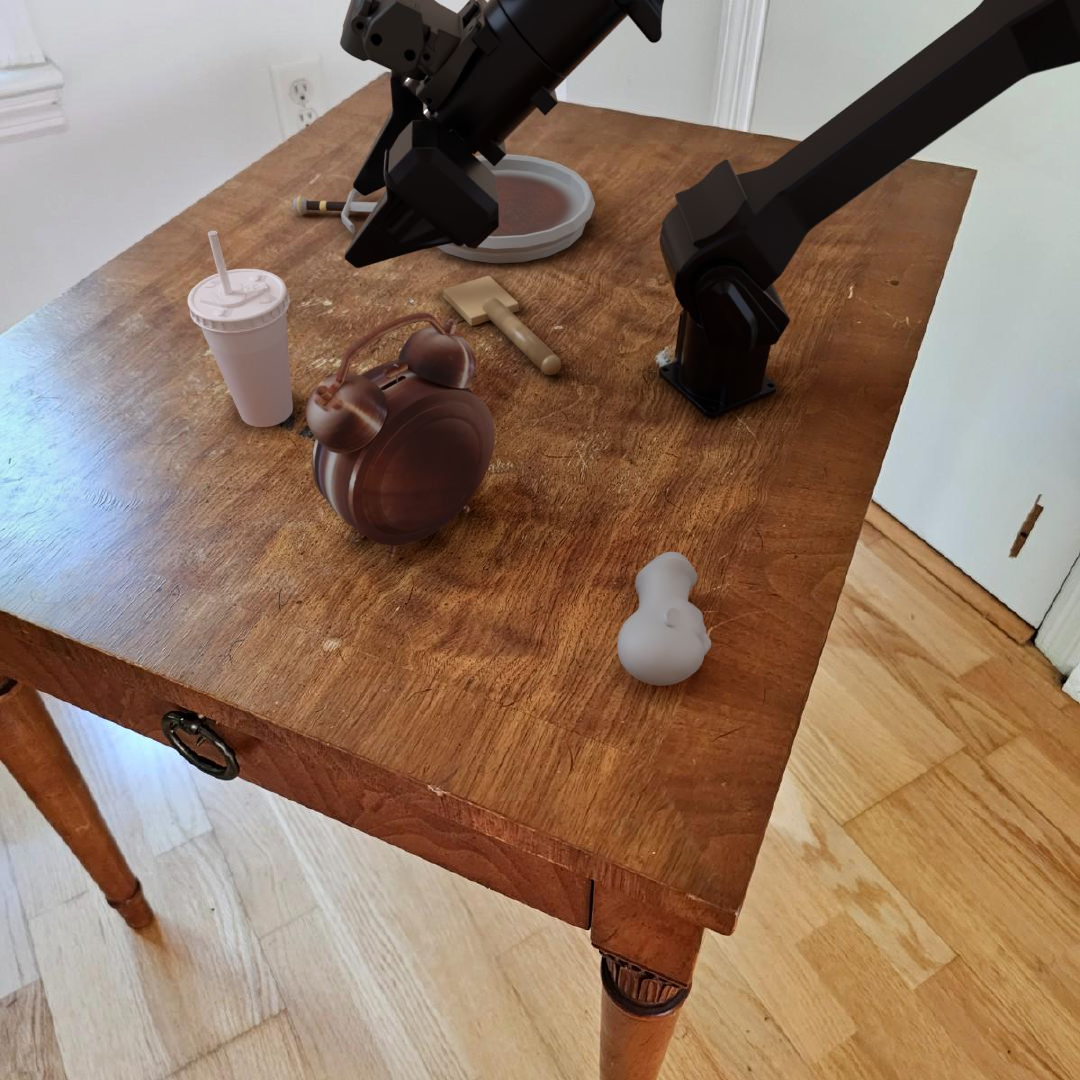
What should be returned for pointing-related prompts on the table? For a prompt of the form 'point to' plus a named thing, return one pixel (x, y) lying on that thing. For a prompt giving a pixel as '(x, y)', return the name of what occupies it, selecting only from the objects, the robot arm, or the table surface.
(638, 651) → the smooth white sculpture
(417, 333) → the alarm clock
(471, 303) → the spatula
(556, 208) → the frying pan
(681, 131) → the table surface
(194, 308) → the smoothie
